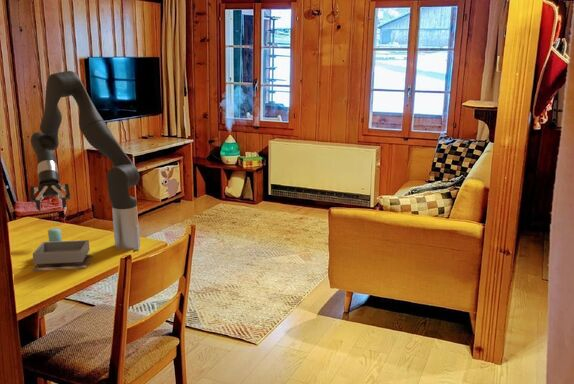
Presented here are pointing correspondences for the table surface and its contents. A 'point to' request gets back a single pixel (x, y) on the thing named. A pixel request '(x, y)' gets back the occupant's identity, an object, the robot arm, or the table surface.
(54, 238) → the teal rectangular block
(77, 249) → the grey shallow tray
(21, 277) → the table surface
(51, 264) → the rail board
